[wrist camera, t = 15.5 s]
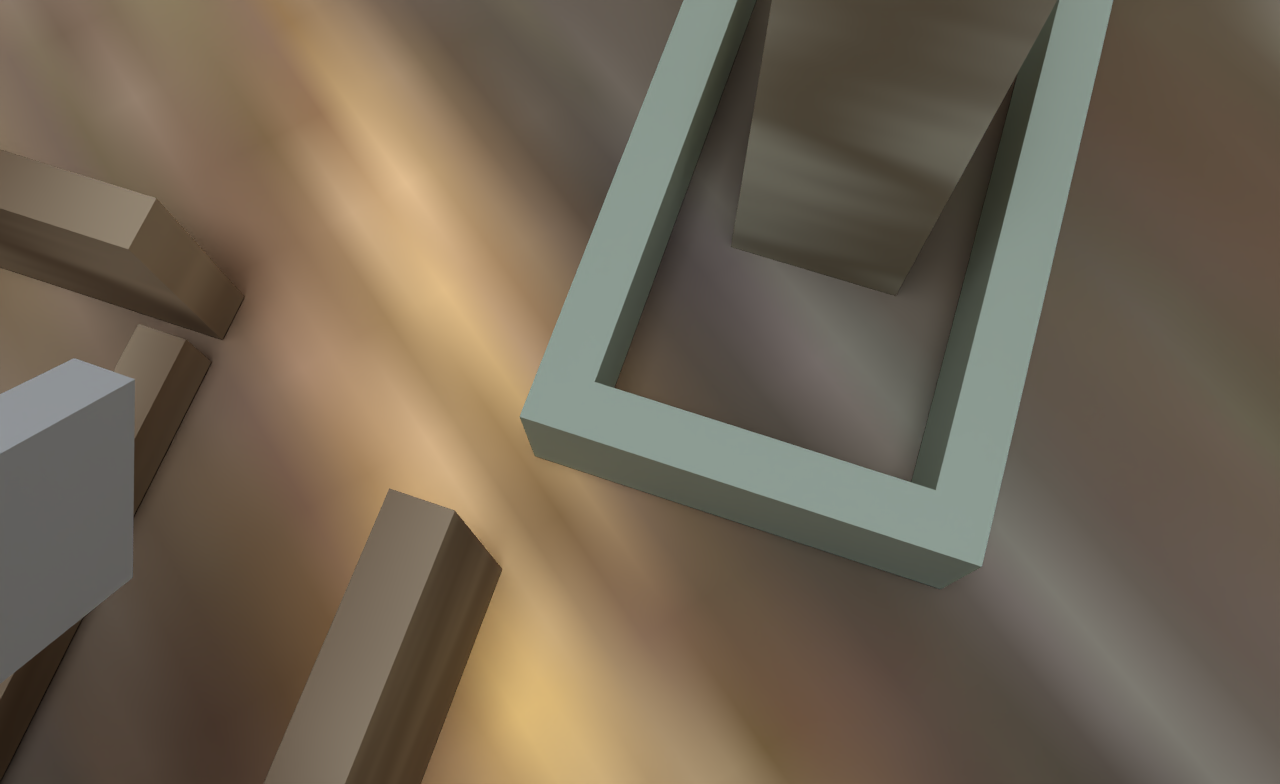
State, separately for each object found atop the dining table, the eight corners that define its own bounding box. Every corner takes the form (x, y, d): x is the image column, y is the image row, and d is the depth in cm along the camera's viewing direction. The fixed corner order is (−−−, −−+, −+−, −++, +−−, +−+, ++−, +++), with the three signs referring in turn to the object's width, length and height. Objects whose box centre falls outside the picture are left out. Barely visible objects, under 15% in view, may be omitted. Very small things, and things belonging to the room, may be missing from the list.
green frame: (1108, -103, 24) (1157, -194, 22) (940, 589, 19) (982, 567, 17) (780, -185, 25) (794, -281, 23) (534, 455, 20) (519, 416, 18)
